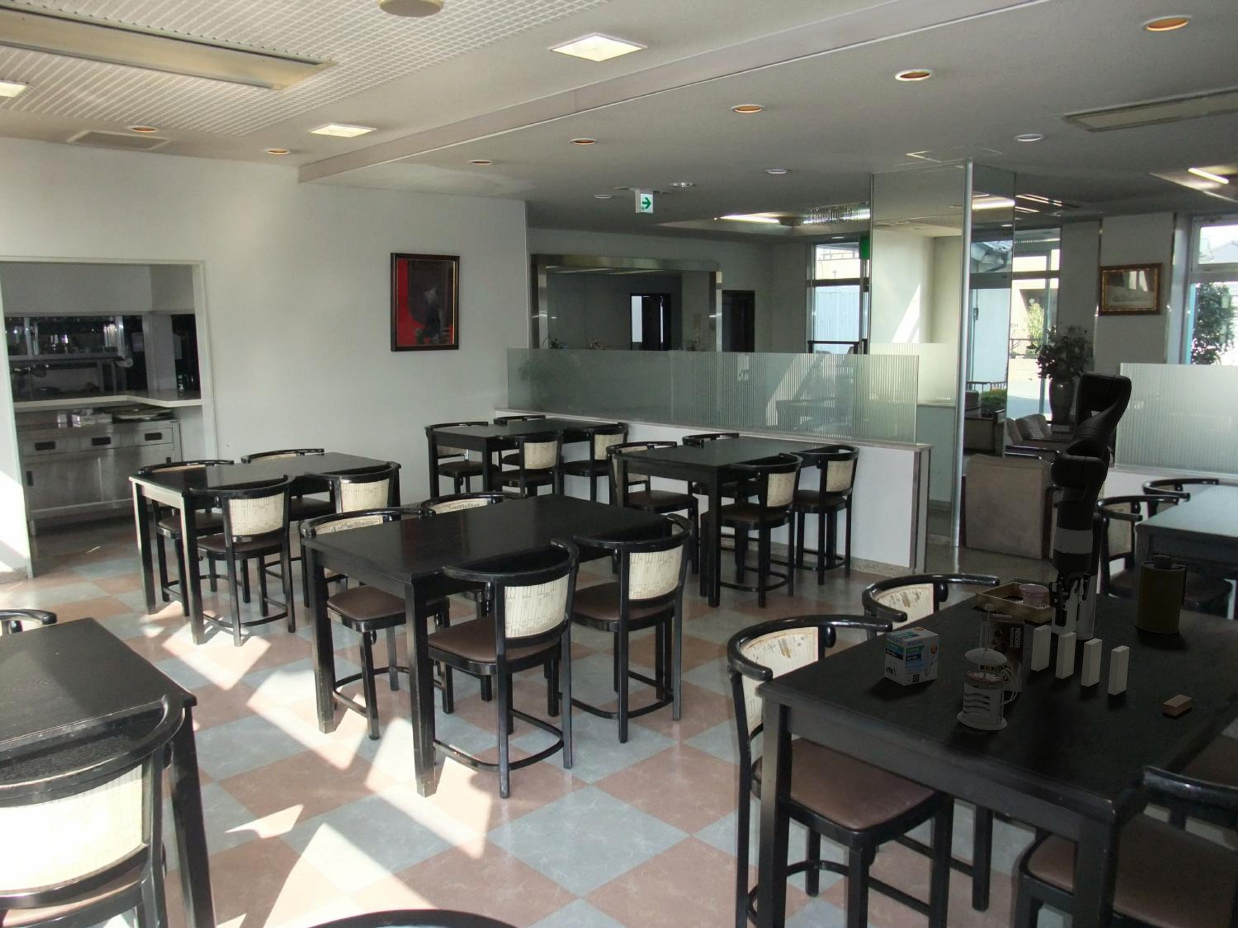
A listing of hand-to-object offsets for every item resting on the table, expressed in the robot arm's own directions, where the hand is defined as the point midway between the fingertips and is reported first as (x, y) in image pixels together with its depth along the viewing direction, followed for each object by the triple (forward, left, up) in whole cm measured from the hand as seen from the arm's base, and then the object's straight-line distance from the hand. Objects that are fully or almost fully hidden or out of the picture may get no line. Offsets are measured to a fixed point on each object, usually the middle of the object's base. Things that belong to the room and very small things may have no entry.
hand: (1066, 622), depth 203 cm
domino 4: (+6, +13, -17) cm, 22 cm away
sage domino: (0, 0, -2) cm, 2 cm away
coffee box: (-12, -5, -17) cm, 22 cm away
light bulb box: (-27, -17, -17) cm, 36 cm away
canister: (-8, +67, -17) cm, 70 cm away
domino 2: (-6, +13, -17) cm, 22 cm away
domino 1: (-12, +13, -17) cm, 24 cm away
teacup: (-38, +57, -17) cm, 70 cm away
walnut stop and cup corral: (-15, +37, -17) cm, 43 cm away
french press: (-3, -25, -17) cm, 30 cm away
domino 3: (0, +13, -17) cm, 21 cm away
